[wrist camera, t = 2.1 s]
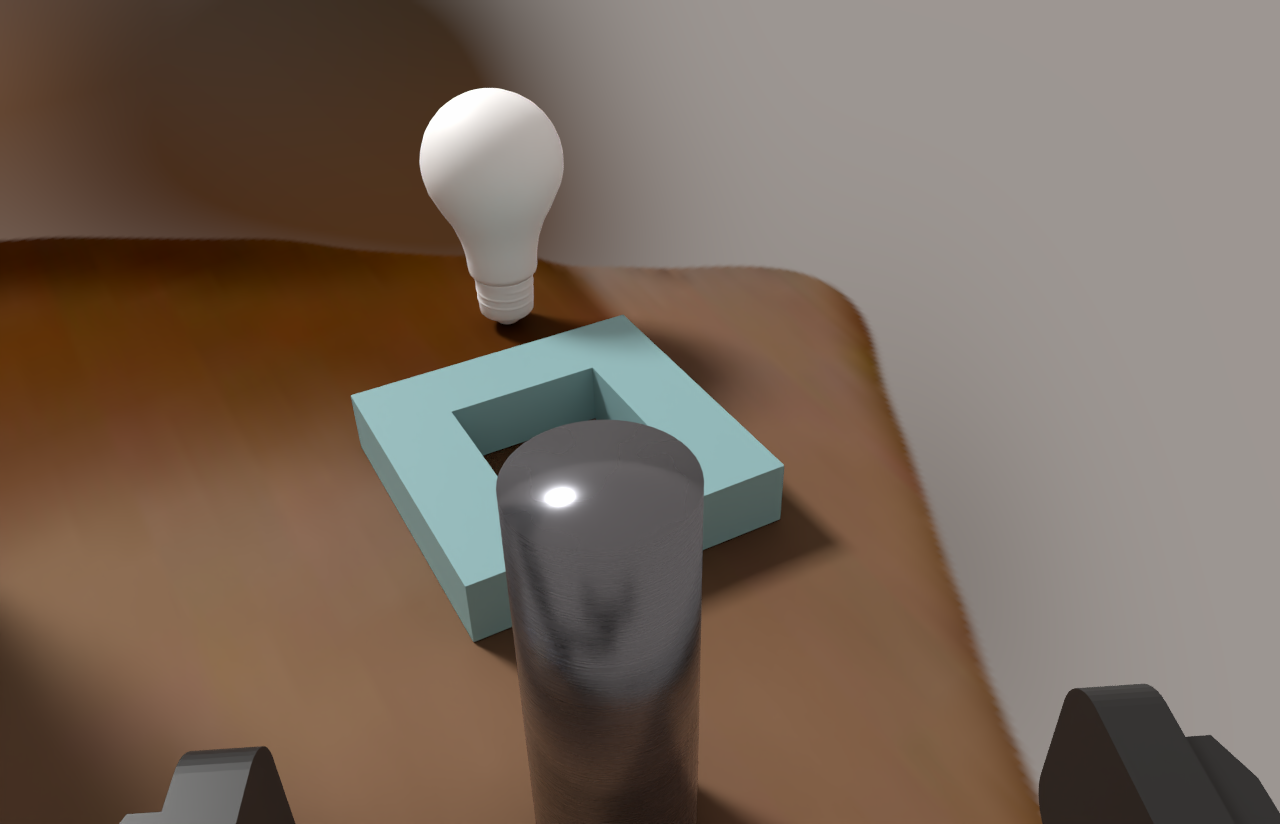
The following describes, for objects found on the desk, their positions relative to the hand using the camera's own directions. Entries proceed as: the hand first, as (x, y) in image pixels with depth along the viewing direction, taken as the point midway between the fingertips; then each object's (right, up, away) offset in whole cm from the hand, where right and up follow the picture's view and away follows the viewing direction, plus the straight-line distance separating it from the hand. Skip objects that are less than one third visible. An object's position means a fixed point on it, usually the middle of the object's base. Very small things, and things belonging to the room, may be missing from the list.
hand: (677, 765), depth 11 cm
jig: (-3, +1, +31) cm, 31 cm away
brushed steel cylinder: (-1, -8, +19) cm, 21 cm away
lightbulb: (-7, +8, +41) cm, 42 cm away
